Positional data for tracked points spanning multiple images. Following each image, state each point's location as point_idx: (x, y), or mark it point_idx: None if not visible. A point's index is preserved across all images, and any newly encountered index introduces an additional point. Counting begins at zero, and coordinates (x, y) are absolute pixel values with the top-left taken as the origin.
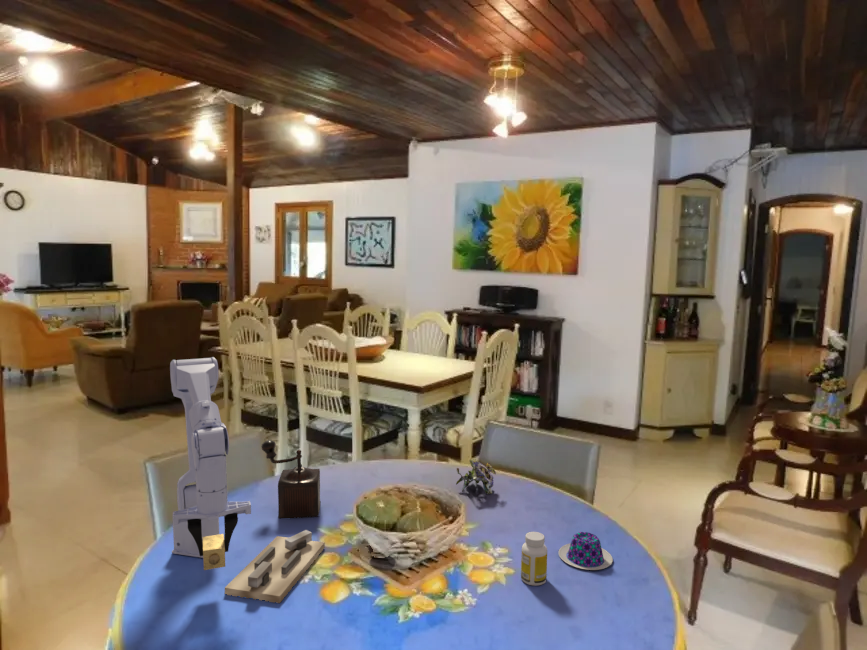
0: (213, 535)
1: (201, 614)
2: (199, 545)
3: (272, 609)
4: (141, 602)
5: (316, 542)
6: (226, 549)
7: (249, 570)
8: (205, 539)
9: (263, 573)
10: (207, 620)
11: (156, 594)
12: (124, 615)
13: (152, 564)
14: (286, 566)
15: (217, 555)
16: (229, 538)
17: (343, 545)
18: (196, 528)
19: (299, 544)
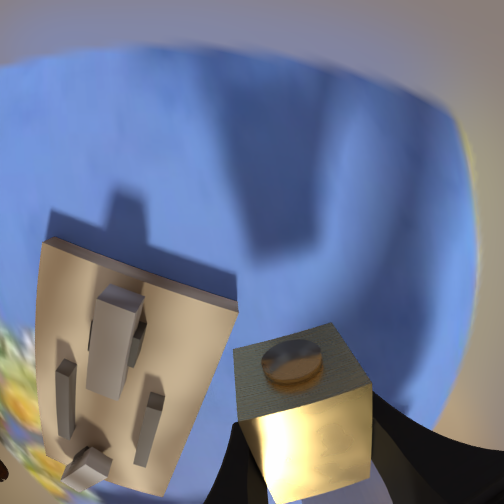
0: (322, 492)
1: (291, 195)
2: (394, 419)
3: (67, 205)
4: (451, 275)
5: (62, 460)
6: (240, 429)
7: (180, 395)
8: (358, 468)
9: (93, 337)
10: (263, 158)
11: (425, 309)
12: (473, 223)
13: (428, 412)
14: (56, 377)
15: (277, 377)
16: (221, 479)
17: (24, 442)
18: (482, 487)
19: (78, 459)
